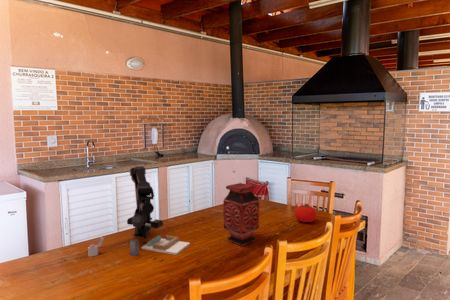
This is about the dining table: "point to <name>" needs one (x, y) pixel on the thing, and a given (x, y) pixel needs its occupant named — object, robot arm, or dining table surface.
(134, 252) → the grey block
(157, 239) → the bar
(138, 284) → the dining table surface
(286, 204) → the dining table surface
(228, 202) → the vase
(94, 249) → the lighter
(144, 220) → the robot arm
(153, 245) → the seat board
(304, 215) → the tomato
